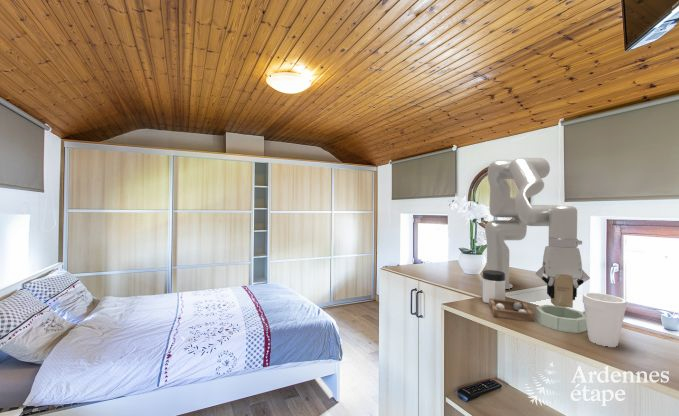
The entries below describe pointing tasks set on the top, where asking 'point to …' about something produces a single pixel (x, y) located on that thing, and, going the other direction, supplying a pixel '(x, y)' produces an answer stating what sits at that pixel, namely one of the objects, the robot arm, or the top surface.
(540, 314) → the bowl
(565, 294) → the box
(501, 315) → the tray
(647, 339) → the top surface
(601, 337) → the foam cup
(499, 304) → the pebble
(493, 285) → the jar
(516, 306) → the pebble
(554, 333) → the top surface
